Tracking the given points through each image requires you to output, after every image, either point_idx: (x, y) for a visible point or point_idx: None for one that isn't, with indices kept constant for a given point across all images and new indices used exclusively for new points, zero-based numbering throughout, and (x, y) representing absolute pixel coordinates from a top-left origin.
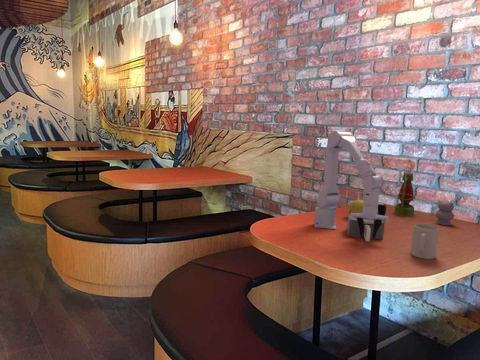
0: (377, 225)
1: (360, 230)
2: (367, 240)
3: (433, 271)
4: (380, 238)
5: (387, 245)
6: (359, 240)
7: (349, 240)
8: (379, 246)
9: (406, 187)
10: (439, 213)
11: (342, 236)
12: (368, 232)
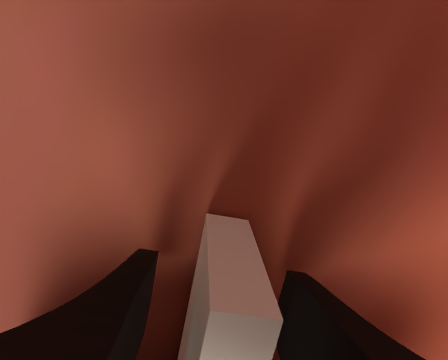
0: (42, 356)
1: (359, 315)
2: (230, 220)
3: None
4: None
5: (11, 120)
6: (298, 254)
7: (411, 232)
8: (130, 56)
9: None
10: None
11: (423, 349)
12: (239, 272)
